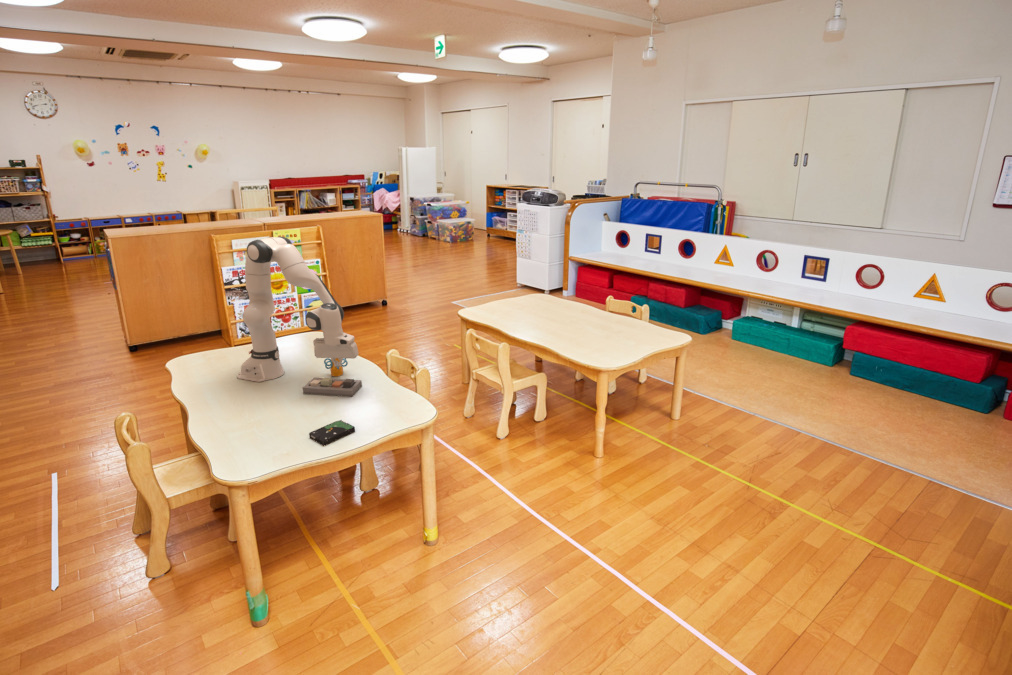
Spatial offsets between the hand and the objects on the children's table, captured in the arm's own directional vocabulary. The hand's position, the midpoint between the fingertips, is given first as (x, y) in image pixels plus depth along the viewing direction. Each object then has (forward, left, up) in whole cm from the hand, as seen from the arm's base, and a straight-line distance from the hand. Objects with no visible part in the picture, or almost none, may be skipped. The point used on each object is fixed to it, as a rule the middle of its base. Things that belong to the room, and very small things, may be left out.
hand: (338, 366), depth 259 cm
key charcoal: (+4, 0, -10) cm, 10 cm away
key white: (-12, 0, -11) cm, 17 cm away
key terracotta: (-1, 0, -11) cm, 11 cm away
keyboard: (-4, 0, -13) cm, 13 cm away
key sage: (-7, 0, -10) cm, 12 cm away
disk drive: (+14, -40, -13) cm, 44 cm away
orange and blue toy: (-10, +18, -13) cm, 24 cm away
